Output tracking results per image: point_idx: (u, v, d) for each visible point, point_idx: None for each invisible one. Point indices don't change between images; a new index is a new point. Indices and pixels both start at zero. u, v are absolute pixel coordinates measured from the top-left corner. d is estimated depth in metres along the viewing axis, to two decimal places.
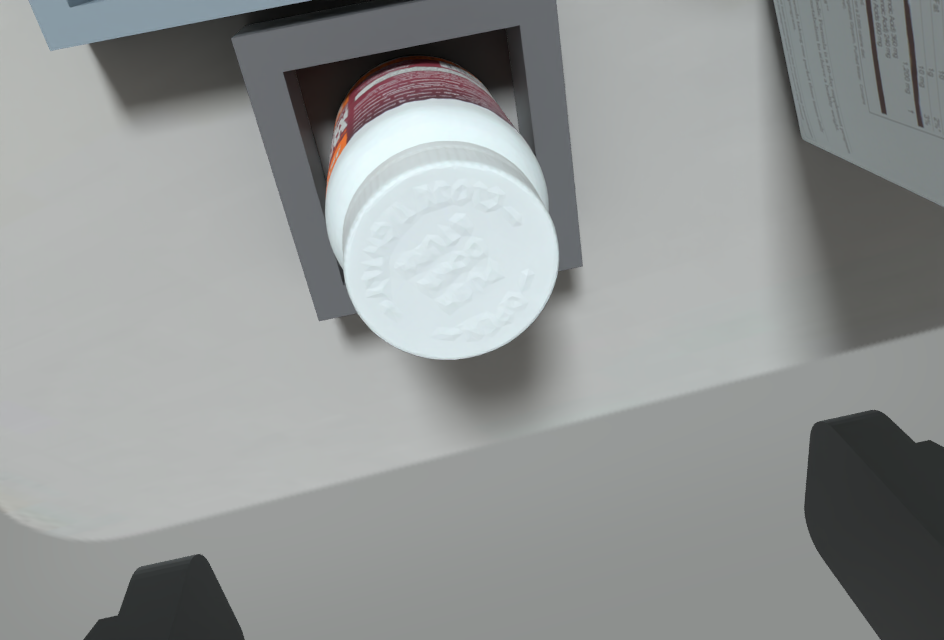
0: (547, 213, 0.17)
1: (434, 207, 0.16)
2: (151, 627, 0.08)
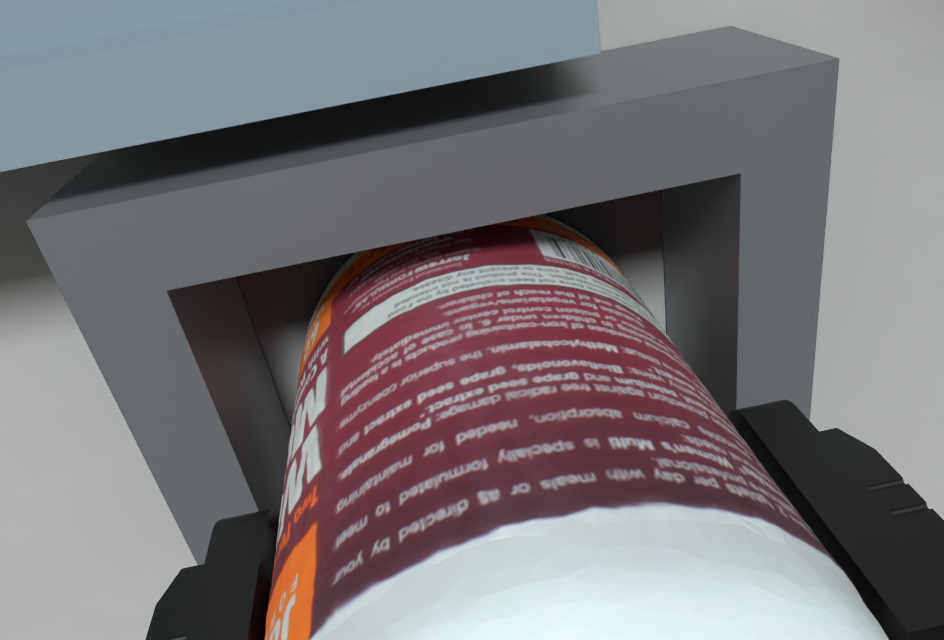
0: None
1: None
2: (238, 571, 0.08)
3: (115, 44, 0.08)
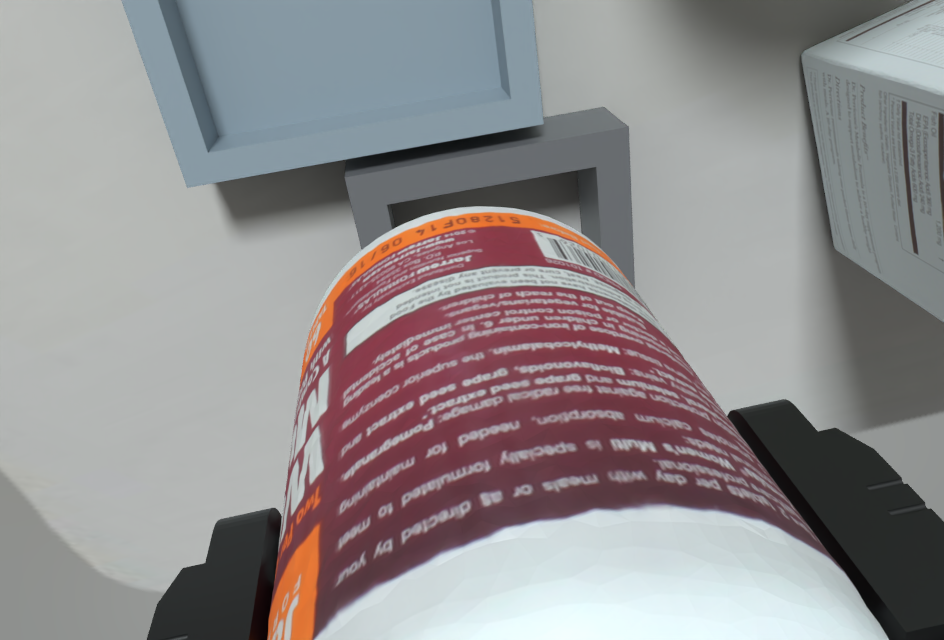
0: None
1: None
2: (239, 570, 0.08)
3: (379, 118, 0.24)
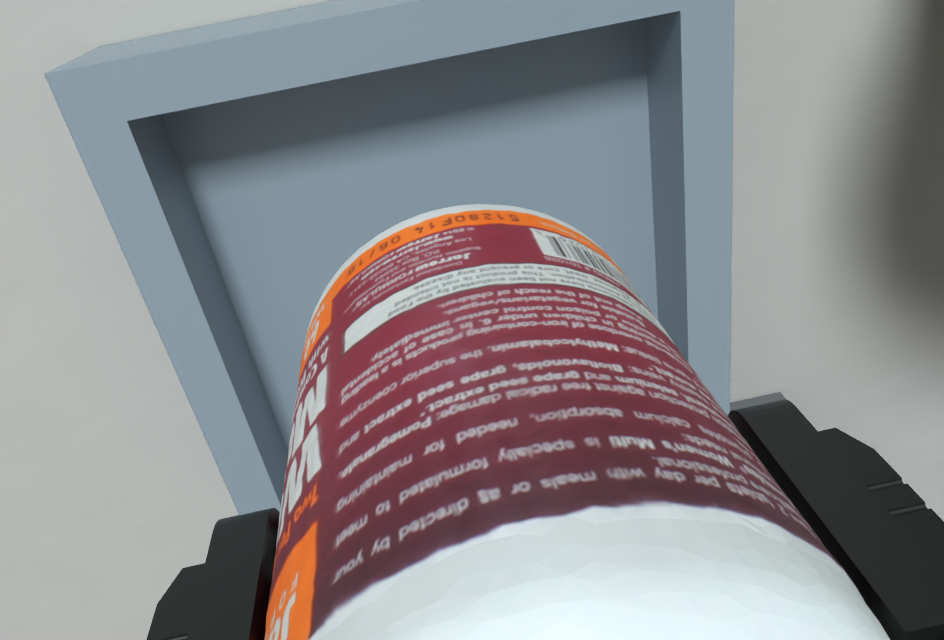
0: None
1: None
2: (239, 570, 0.08)
3: None
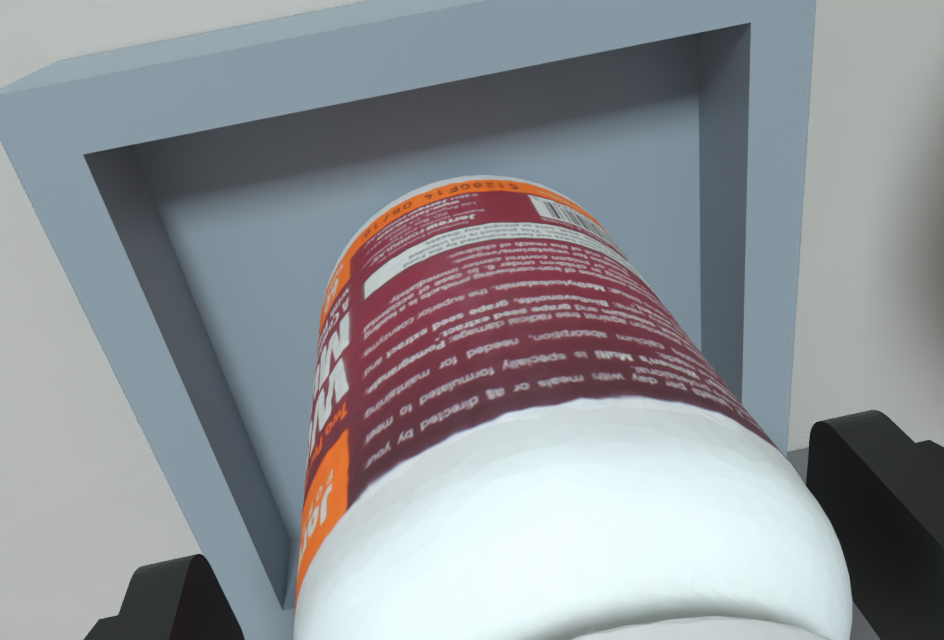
0: None
1: None
2: (152, 627, 0.08)
3: None
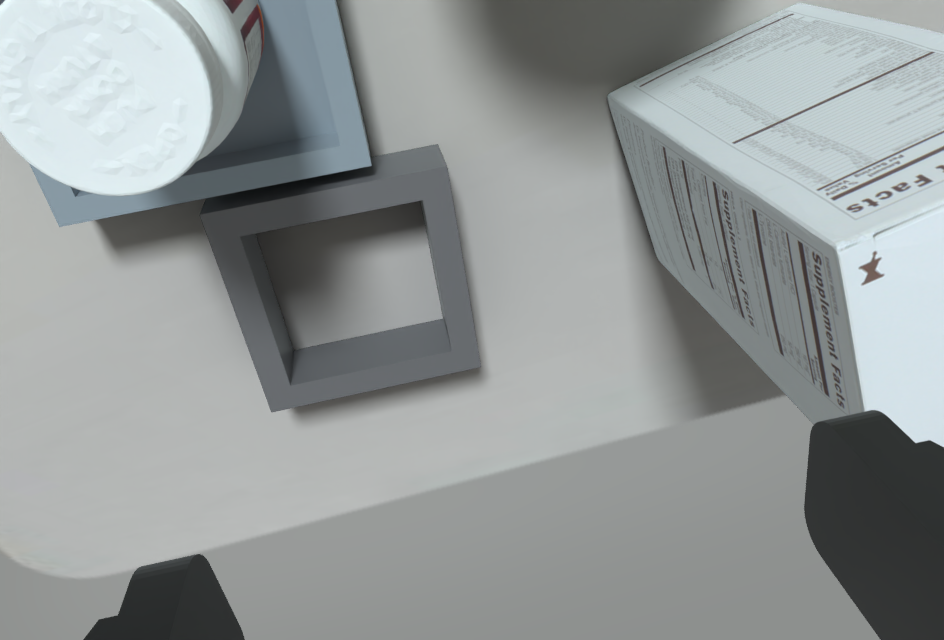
0: (188, 38, 0.17)
1: (64, 25, 0.16)
2: (151, 627, 0.08)
3: (227, 163, 0.28)
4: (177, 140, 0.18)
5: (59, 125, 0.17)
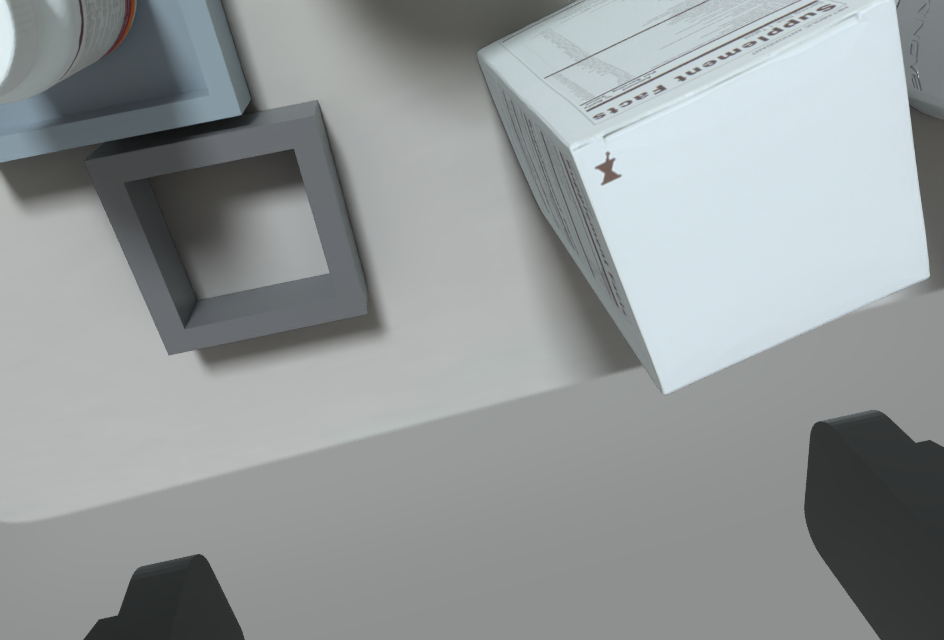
0: None
1: None
2: (151, 627, 0.08)
3: (108, 112, 0.31)
4: None
5: None
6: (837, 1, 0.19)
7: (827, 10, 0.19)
